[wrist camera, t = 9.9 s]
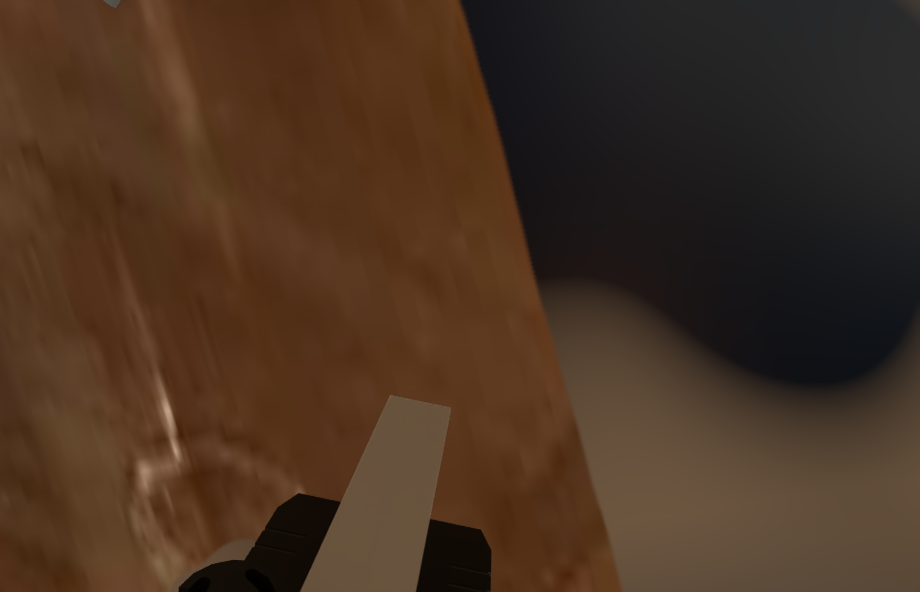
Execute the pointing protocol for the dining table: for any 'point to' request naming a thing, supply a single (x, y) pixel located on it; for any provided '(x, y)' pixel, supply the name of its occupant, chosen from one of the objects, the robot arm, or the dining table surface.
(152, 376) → the dining table surface
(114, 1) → the mat
